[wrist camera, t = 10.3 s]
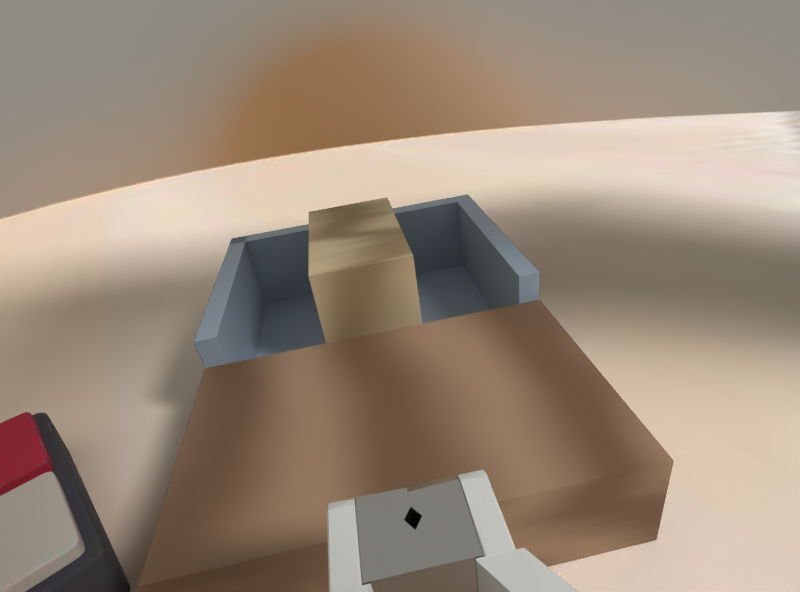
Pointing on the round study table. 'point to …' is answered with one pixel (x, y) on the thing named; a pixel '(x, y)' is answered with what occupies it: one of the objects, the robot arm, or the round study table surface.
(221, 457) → the walnut plate
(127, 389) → the round study table surface
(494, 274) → the tray
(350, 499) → the robot arm
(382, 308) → the oak block
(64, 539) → the calculator
